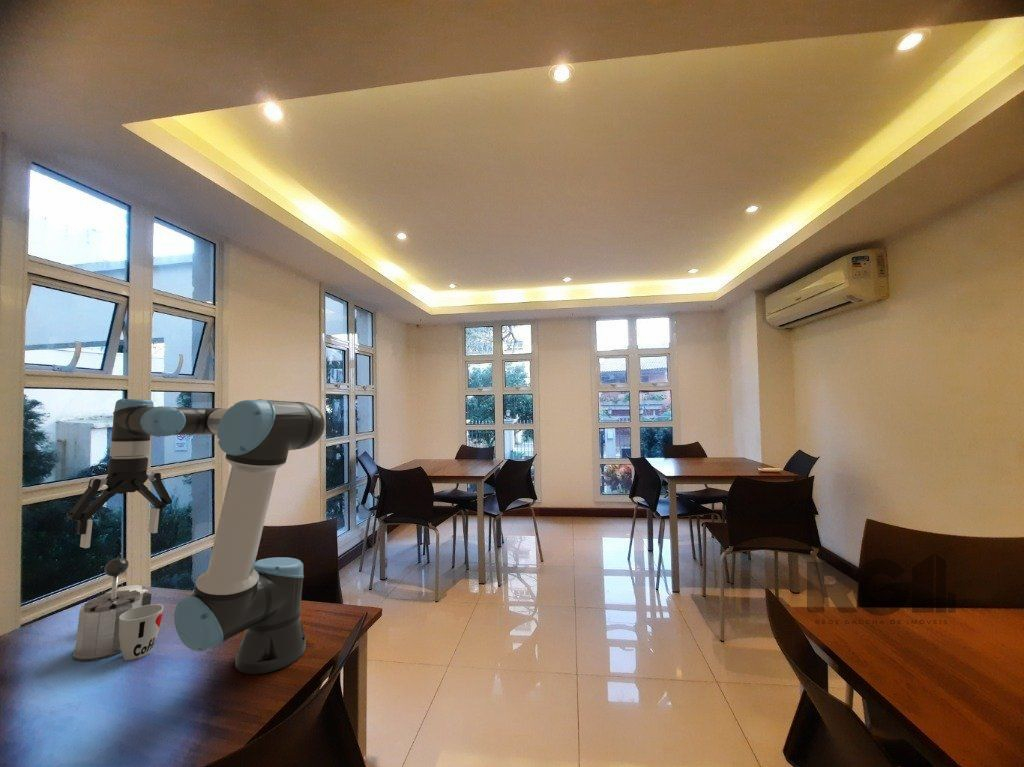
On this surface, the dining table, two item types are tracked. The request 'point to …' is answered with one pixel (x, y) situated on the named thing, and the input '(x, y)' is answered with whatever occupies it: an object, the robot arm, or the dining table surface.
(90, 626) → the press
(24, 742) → the dining table surface
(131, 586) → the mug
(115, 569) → the plunger
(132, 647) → the cup
